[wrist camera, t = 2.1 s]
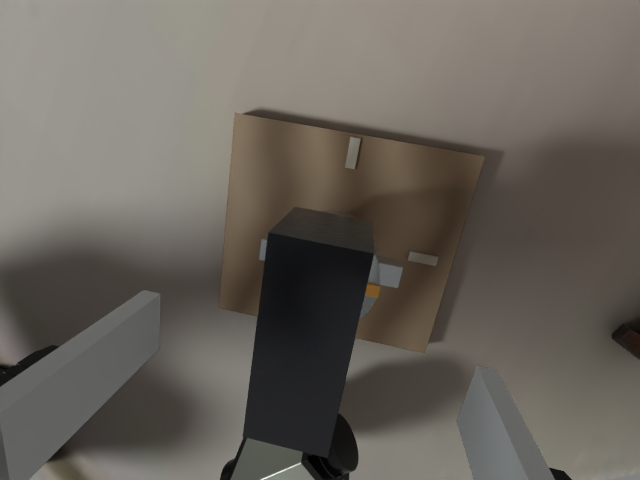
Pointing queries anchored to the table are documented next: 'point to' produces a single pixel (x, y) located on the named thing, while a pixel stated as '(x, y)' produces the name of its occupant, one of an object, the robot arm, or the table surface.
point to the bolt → (628, 339)
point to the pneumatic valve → (295, 460)
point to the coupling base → (356, 199)
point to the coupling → (310, 324)
